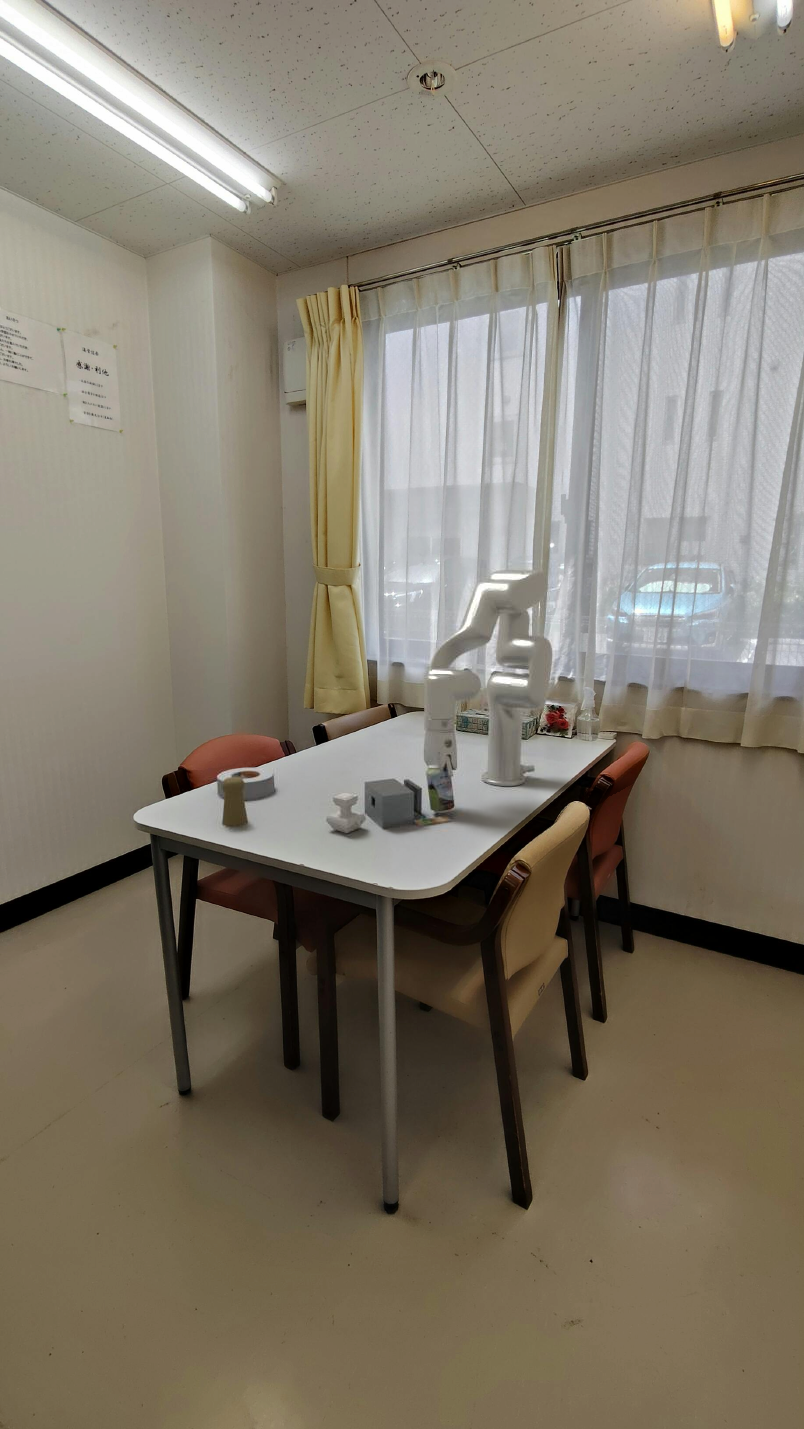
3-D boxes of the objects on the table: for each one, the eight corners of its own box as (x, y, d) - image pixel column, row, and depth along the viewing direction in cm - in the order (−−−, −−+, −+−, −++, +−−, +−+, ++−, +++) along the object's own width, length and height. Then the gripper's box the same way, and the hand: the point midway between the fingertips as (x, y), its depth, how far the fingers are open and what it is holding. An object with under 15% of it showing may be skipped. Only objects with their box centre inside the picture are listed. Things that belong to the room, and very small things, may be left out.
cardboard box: (445, 817, 161) (445, 815, 161) (450, 821, 159) (450, 819, 159) (413, 822, 158) (413, 820, 158) (419, 826, 155) (419, 824, 155)
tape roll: (233, 782, 190) (232, 765, 189) (283, 785, 187) (282, 768, 186) (207, 798, 175) (206, 780, 174) (261, 802, 172) (260, 784, 171)
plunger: (408, 803, 167) (408, 779, 166) (427, 817, 157) (427, 792, 156) (375, 808, 163) (375, 783, 162) (392, 823, 153) (392, 796, 152)
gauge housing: (394, 808, 168) (394, 778, 166) (413, 824, 157) (413, 792, 155) (364, 812, 165) (364, 782, 163) (382, 829, 154) (382, 796, 152)
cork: (234, 828, 154) (232, 783, 152) (216, 823, 157) (214, 779, 155) (253, 820, 159) (251, 777, 157) (235, 816, 162) (233, 773, 160)
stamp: (370, 829, 153) (369, 795, 152) (351, 838, 148) (350, 803, 147) (341, 821, 159) (340, 788, 157) (322, 829, 153) (321, 795, 152)
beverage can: (449, 817, 160) (450, 769, 157) (421, 812, 162) (422, 766, 160) (458, 809, 165) (459, 763, 163) (430, 805, 168) (431, 759, 166)
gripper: (469, 729, 156) (467, 802, 160) (438, 716, 171) (437, 784, 174) (440, 732, 153) (439, 807, 157) (412, 718, 168) (411, 787, 171)
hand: (438, 794), depth 165 cm, fingers closed on beverage can, 2 cm apart
